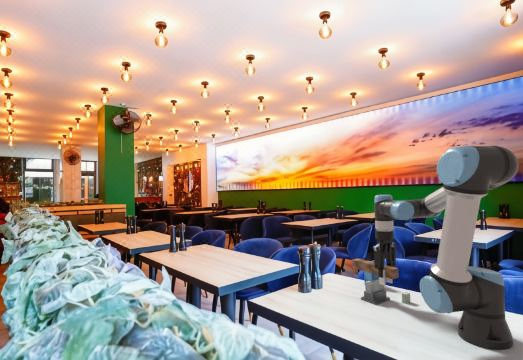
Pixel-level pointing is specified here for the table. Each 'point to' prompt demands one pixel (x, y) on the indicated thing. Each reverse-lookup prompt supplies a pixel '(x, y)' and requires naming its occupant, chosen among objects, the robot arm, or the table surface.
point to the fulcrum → (375, 293)
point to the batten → (370, 268)
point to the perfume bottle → (370, 277)
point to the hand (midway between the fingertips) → (385, 283)
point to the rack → (404, 296)
